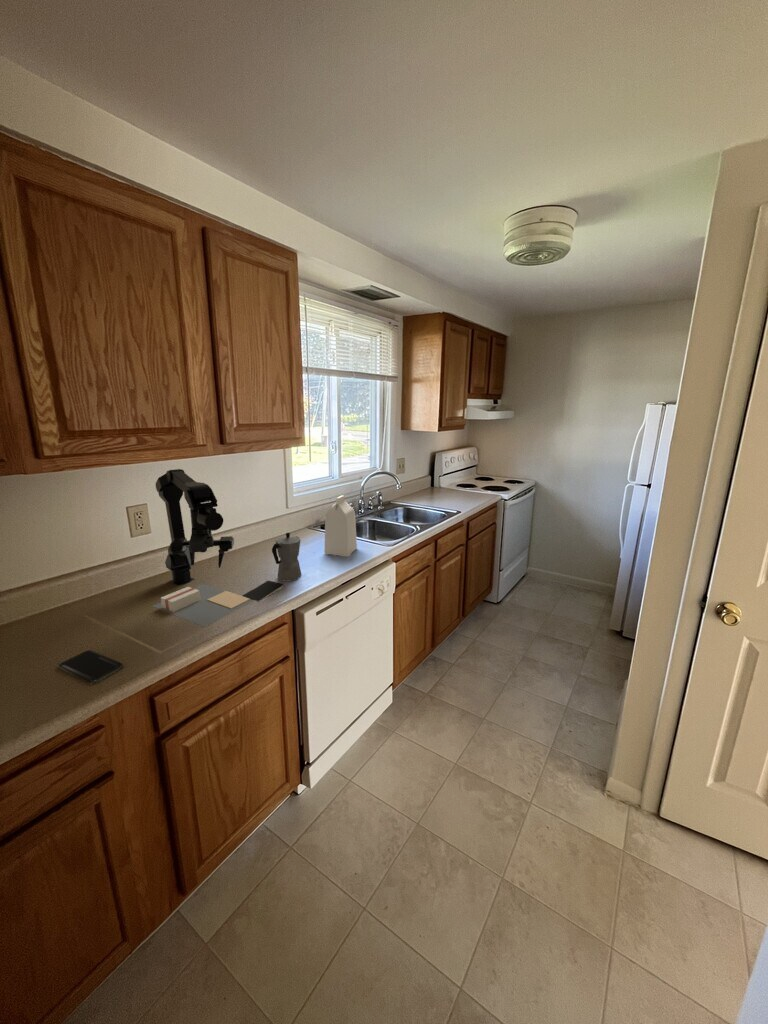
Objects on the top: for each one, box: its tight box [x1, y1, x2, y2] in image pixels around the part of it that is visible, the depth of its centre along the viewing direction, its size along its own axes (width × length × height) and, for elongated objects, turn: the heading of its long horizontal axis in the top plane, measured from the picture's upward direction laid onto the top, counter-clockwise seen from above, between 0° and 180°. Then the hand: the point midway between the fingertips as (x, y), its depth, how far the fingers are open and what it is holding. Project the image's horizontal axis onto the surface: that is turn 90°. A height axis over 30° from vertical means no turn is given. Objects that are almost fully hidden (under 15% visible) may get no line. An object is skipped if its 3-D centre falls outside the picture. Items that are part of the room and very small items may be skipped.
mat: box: [151, 583, 255, 628], centre depth 138 cm, size 26×20×1 cm
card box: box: [160, 586, 201, 612], centre depth 137 cm, size 10×6×4 cm, turn 151°
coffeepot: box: [271, 532, 302, 581], centre depth 159 cm, size 15×9×18 cm, turn 153°
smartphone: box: [242, 580, 285, 603], centre depth 149 cm, size 8×1×15 cm
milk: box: [323, 495, 358, 557], centre depth 189 cm, size 12×12×26 cm
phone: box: [58, 649, 124, 684], centre depth 104 cm, size 8×1×15 cm
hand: (205, 568), depth 137 cm, fingers open, 9 cm apart
